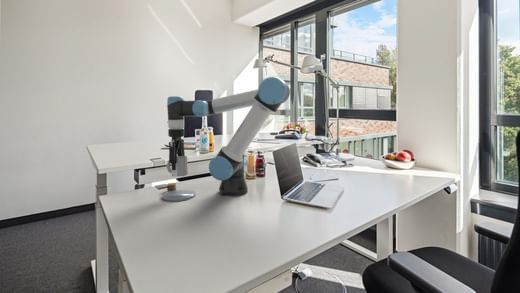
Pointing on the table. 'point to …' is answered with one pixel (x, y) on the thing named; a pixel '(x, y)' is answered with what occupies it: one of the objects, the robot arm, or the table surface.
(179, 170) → the cup
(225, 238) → the table surface
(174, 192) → the dish
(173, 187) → the walnut block
